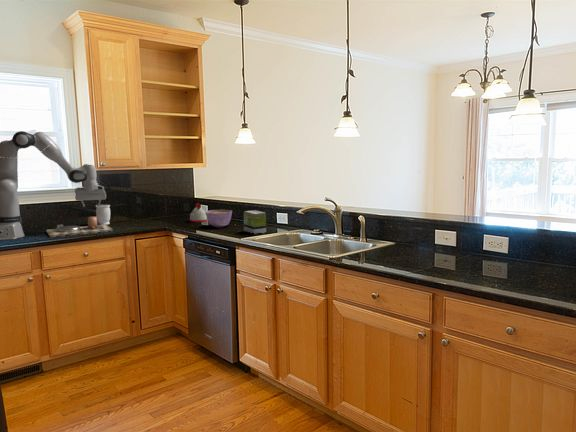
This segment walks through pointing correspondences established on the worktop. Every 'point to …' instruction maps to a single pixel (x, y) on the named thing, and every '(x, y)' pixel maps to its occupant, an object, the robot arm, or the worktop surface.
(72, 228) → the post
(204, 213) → the kitchen timer
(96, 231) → the board
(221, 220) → the purple rounded bowl
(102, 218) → the jar
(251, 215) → the tea box
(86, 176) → the robot arm
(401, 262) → the worktop surface
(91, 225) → the pinkish brown cylinder
